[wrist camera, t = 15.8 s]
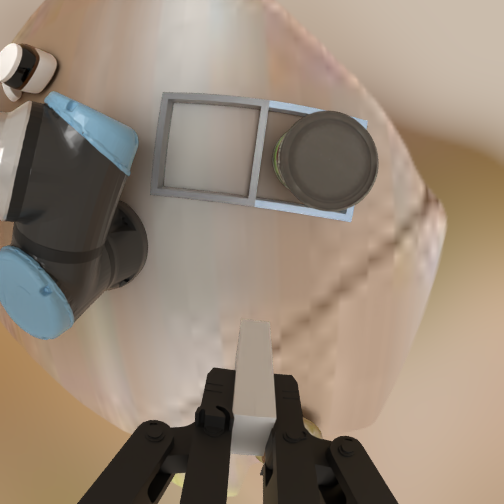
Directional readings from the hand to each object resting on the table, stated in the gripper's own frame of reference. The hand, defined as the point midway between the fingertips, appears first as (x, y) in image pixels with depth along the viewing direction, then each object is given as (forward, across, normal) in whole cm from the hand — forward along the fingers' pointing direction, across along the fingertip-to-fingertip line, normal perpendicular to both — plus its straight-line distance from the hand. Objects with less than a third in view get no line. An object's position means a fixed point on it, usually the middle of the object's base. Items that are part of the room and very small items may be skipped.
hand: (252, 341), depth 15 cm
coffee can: (+30, +6, +10) cm, 32 cm away
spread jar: (+30, -45, +24) cm, 59 cm away
